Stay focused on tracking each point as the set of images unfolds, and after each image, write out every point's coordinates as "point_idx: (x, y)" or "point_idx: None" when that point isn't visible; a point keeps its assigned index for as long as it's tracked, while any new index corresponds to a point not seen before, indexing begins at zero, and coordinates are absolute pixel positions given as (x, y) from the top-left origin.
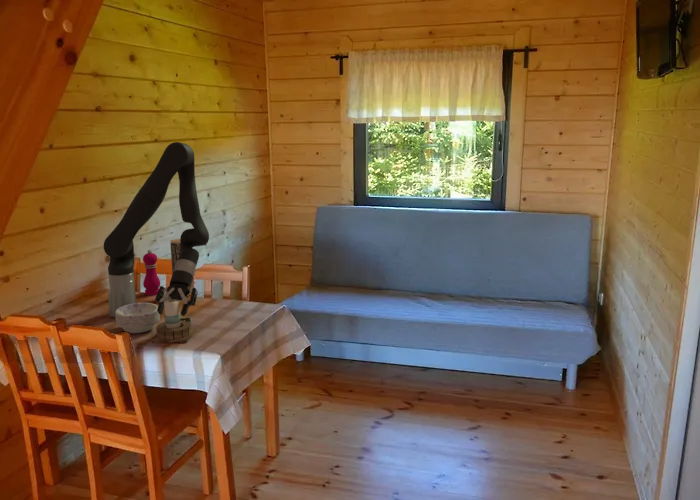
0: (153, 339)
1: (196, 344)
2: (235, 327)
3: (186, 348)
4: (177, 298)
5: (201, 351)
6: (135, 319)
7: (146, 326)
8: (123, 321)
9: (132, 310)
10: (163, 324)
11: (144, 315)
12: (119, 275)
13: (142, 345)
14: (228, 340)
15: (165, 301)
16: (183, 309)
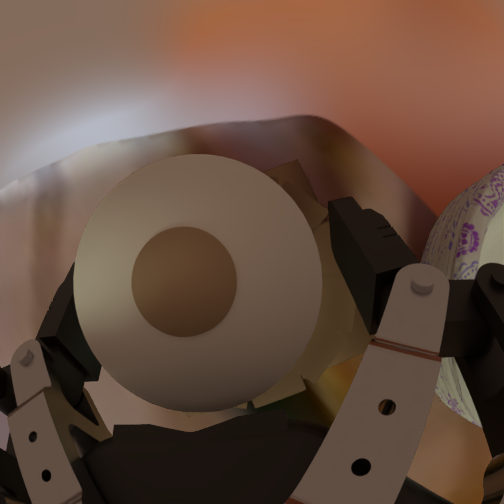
0: (292, 166)
1: (79, 239)
2: None
3: (96, 181)
4: (167, 435)
5: (39, 186)
6: (481, 180)
7: (426, 245)
8: None
9: None
10: (323, 282)
11: (469, 220)
12: None
13: (313, 123)
14: (9, 328)
15: (290, 235)
16: (63, 287)
